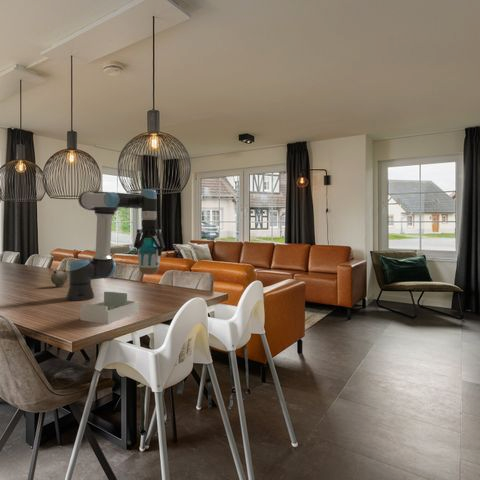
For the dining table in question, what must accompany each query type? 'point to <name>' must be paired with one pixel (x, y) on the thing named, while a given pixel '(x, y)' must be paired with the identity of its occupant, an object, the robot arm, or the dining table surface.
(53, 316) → the dining table surface
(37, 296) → the dining table surface
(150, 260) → the vase
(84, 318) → the pusher lane
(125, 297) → the pusher
